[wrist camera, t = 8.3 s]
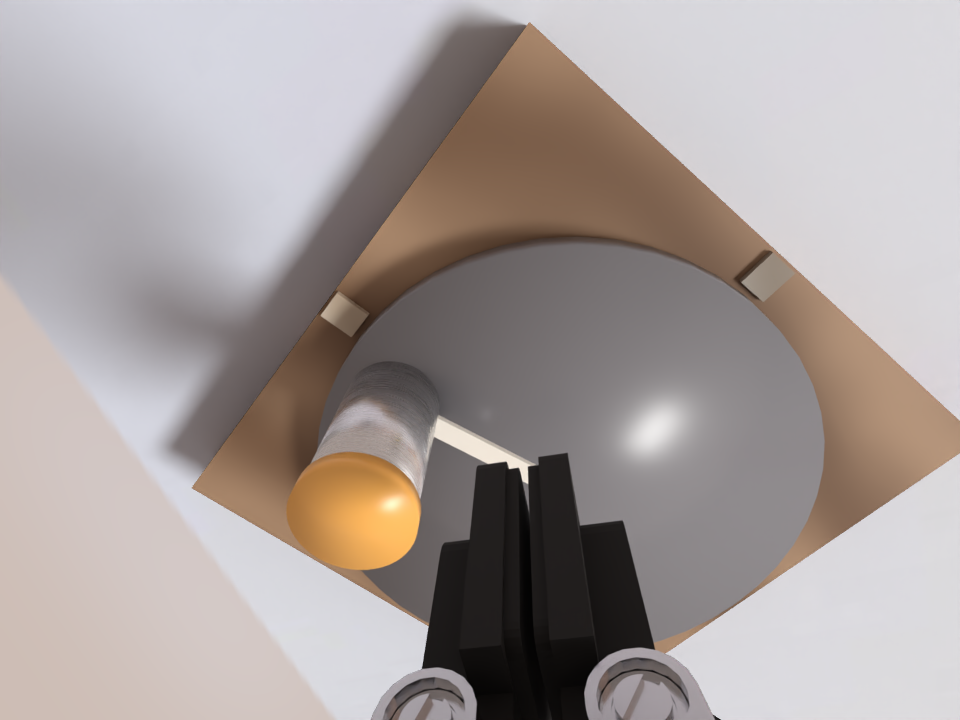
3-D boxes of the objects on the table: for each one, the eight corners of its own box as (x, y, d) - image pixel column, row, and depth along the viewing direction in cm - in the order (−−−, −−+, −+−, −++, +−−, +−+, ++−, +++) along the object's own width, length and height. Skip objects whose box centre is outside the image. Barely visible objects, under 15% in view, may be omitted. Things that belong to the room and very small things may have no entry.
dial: (925, 403, 20) (1098, 551, 14) (617, 686, 27) (645, 864, 21) (470, 123, 17) (445, 161, 11) (257, 526, 24) (171, 682, 18)
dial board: (574, 674, 30) (578, 717, 28) (214, 457, 25) (189, 491, 23) (942, 408, 22) (983, 442, 20) (528, 25, 18) (529, 21, 16)
